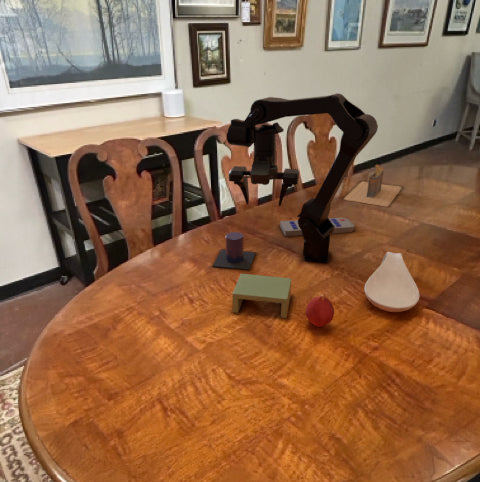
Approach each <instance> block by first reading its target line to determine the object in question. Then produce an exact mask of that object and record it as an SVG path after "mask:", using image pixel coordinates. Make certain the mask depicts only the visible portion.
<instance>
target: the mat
mask: <svg viewBox="0 0 480 482" xmlns="http://www.w3.org/2000/svg"><path fill="white" fill-rule="evenodd" d="M256 254H257V252H255V251H247V250H244V260H243V261H241V262H239V263H231V262H228V261H227V260H226V249H221V250H220V252H219V253H218V255H217V257H216V259H215V260H214V261H213V264H212V268H217V269H229V270H230V269H231V270H240V271H250V269H251V267H252V264H253V262H254V259H255V256H256Z"/></svg>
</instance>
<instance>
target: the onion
mask: <svg viewBox="0 0 480 482" xmlns="http://www.w3.org/2000/svg"><path fill="white" fill-rule="evenodd" d="M334 315H335V307H334V305H333V303H332V302H331V301H330V300H329V299H328V298H327V297H325V295H324V294H320V295H318V296H316V297H313V298H312V299H311V300H310V301H309V302H308V303H307V305H306V308H305V316H306V318H307V320H308V322H309V323H311V324H312V325H314V326H315V327H317V328H321V327H324V326H327V325H329V324H330V323H332V321H333V320H334Z"/></svg>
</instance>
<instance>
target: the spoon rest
mask: <svg viewBox="0 0 480 482" xmlns="http://www.w3.org/2000/svg"><path fill="white" fill-rule="evenodd" d="M363 291H364V294H365V297H366V298H367V300H368V301H369V302H370V303H371V304H372V305H373V306H374V307H376V308H378V309H379V310H382V311H384V312H391V313H400V312H406V311H408V310H410V309H412V308H414V307H415V306H416V305H417V304H418V303H419V300H420V291H419V287H418V285H417V284H416V282H415V280H414V278H413V275H412V274H411V273H410V271H409V269H408V266H407V265H406V263H405V261H404V258H403V254H402V253H401V252H396V253H395V252H391V251H387V252H386V254H385V255H384V256H383V259H382V261H381V264H380V265H379V266H378V267H377V268H376V269H375V270H374V272H373V273H371V275H370V276H369V278H368V279H367V280H366V282H365V284H364V287H363Z"/></svg>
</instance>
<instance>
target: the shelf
mask: <svg viewBox="0 0 480 482" xmlns="http://www.w3.org/2000/svg"><path fill="white" fill-rule="evenodd" d="M231 294H232V313H235V314H236V313H237V314H239V311H240V309H241V306H242V303H243V301H244V300H247V301H248V300H249V301H258V302H268V303H276V304H281V307H280V308H281V309H280V319H281V318H282V319H287V316H288V312H289V307H290V301H291V295H292V277H283V276H282V277H281V276H271V275H260V274H250V273H240V274H239V277H238V278H237V281H236V284H235V286H234V288H233V291H232V293H231Z"/></svg>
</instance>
